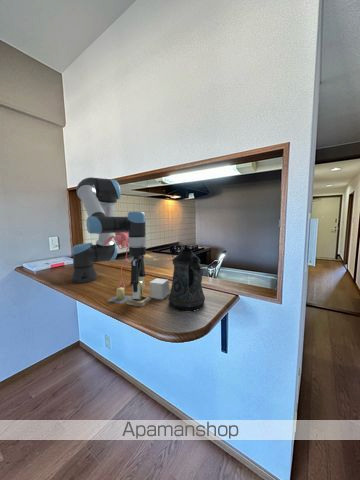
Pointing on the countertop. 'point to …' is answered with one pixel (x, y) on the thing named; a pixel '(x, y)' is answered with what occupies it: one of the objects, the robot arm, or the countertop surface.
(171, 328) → the countertop surface
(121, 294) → the peg plate
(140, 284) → the pin
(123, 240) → the pink flower stem
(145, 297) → the socket board
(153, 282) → the white block
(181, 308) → the beer stein
